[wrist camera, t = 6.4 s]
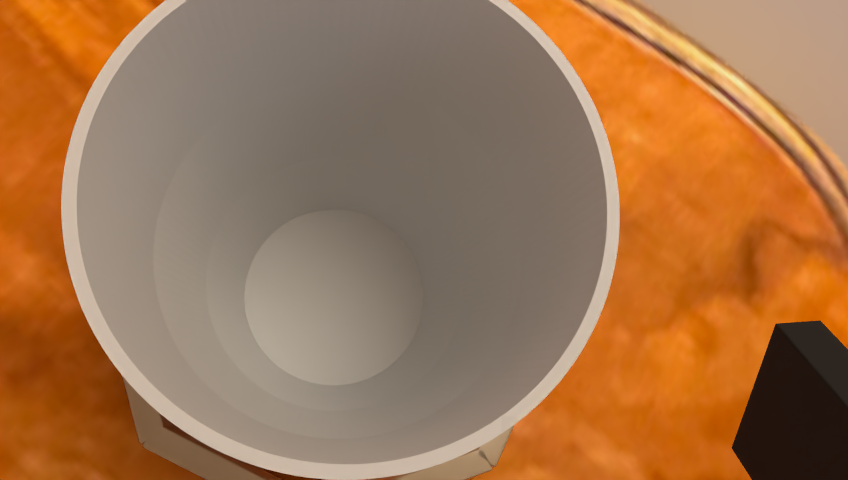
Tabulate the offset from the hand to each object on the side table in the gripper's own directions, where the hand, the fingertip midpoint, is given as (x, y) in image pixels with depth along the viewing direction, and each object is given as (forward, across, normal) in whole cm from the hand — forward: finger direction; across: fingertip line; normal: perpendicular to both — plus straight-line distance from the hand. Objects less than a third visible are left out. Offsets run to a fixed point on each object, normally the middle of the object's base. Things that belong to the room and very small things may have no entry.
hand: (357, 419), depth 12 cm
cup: (+9, 0, -4) cm, 10 cm away
